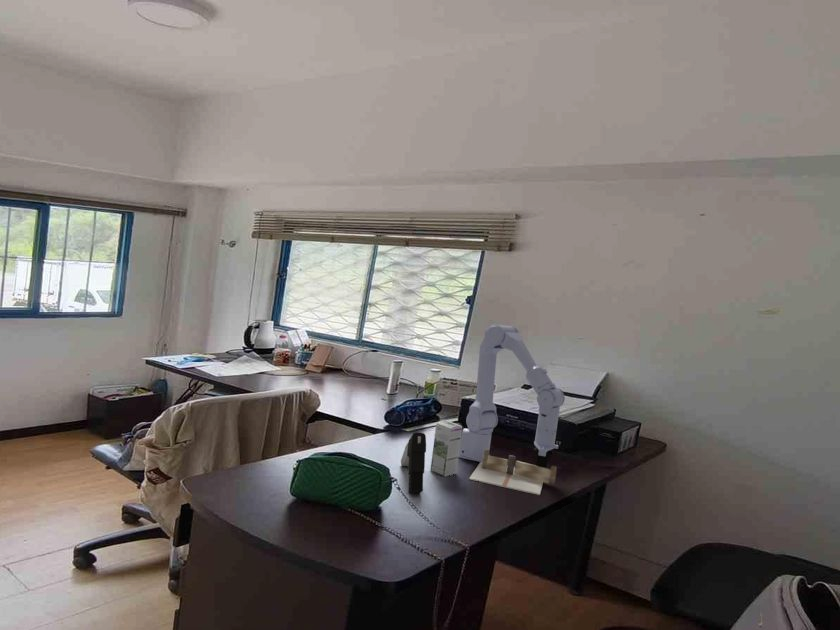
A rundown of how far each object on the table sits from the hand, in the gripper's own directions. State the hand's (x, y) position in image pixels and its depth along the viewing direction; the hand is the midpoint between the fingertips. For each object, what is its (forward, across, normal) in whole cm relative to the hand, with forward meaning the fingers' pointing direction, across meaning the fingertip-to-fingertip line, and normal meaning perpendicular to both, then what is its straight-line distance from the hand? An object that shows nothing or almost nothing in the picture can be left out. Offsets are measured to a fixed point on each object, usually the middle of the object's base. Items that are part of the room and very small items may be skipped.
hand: (540, 473), depth 171 cm
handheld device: (+3, -22, +34) cm, 40 cm away
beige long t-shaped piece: (+2, -1, +2) cm, 2 cm away
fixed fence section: (+2, 0, +13) cm, 13 cm away
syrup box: (+3, -11, +27) cm, 29 cm away
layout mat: (+2, -2, +9) cm, 9 cm away
